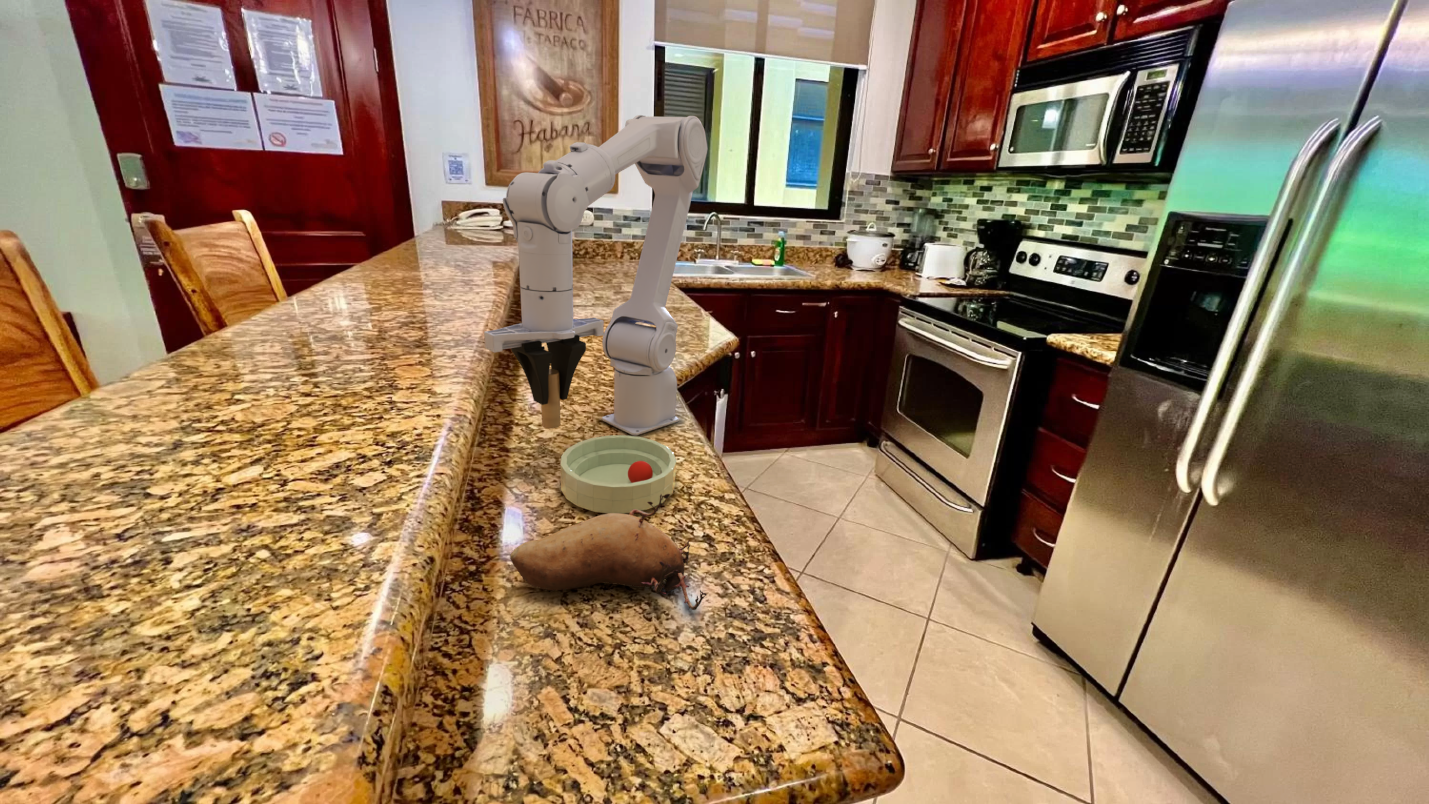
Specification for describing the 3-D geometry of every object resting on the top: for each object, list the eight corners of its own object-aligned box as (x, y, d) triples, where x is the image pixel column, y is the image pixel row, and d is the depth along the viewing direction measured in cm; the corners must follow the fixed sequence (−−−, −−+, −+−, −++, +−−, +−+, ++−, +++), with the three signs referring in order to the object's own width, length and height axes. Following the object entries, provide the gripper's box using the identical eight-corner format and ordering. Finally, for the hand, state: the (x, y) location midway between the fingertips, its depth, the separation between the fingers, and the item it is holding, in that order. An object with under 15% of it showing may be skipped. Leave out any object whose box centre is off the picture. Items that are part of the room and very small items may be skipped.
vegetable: (496, 635, 40) (505, 494, 41) (510, 602, 50) (517, 491, 51) (709, 622, 44) (710, 495, 45) (681, 594, 54) (683, 491, 56)
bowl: (625, 453, 75) (626, 426, 74) (696, 490, 67) (698, 461, 66) (538, 484, 66) (537, 454, 64) (609, 533, 58) (609, 499, 56)
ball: (641, 476, 68) (641, 454, 67) (657, 485, 67) (658, 463, 66) (622, 483, 66) (622, 461, 65) (638, 493, 64) (639, 470, 63)
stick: (554, 420, 70) (552, 367, 67) (564, 426, 68) (562, 372, 66) (538, 424, 68) (536, 371, 65) (548, 430, 67) (546, 375, 64)
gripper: (504, 298, 54) (512, 424, 59) (620, 288, 65) (618, 396, 70) (471, 287, 59) (480, 405, 63) (584, 279, 69) (585, 381, 74)
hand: (550, 399), depth 67 cm, fingers closed on stick, 2 cm apart
